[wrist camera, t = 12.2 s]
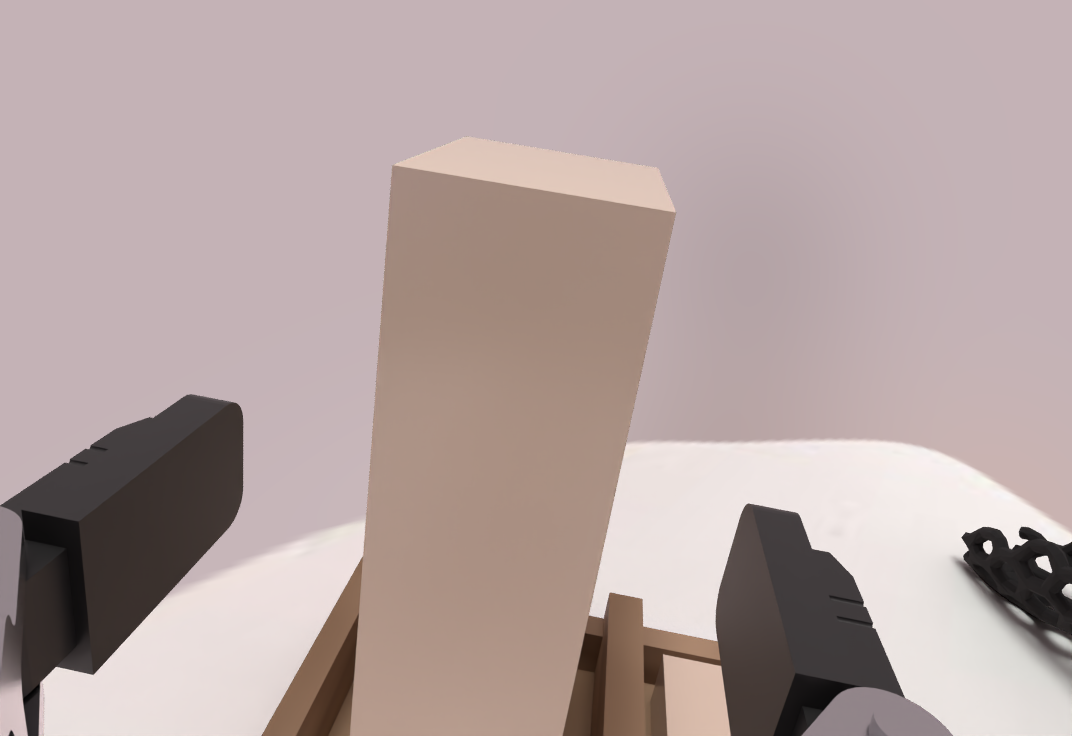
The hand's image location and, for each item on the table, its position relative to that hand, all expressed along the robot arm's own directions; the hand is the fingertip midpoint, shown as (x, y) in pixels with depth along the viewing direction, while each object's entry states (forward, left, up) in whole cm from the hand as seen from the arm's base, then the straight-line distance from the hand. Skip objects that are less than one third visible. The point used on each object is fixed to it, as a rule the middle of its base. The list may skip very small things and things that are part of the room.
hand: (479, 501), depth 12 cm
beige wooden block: (0, -5, -10) cm, 11 cm away
